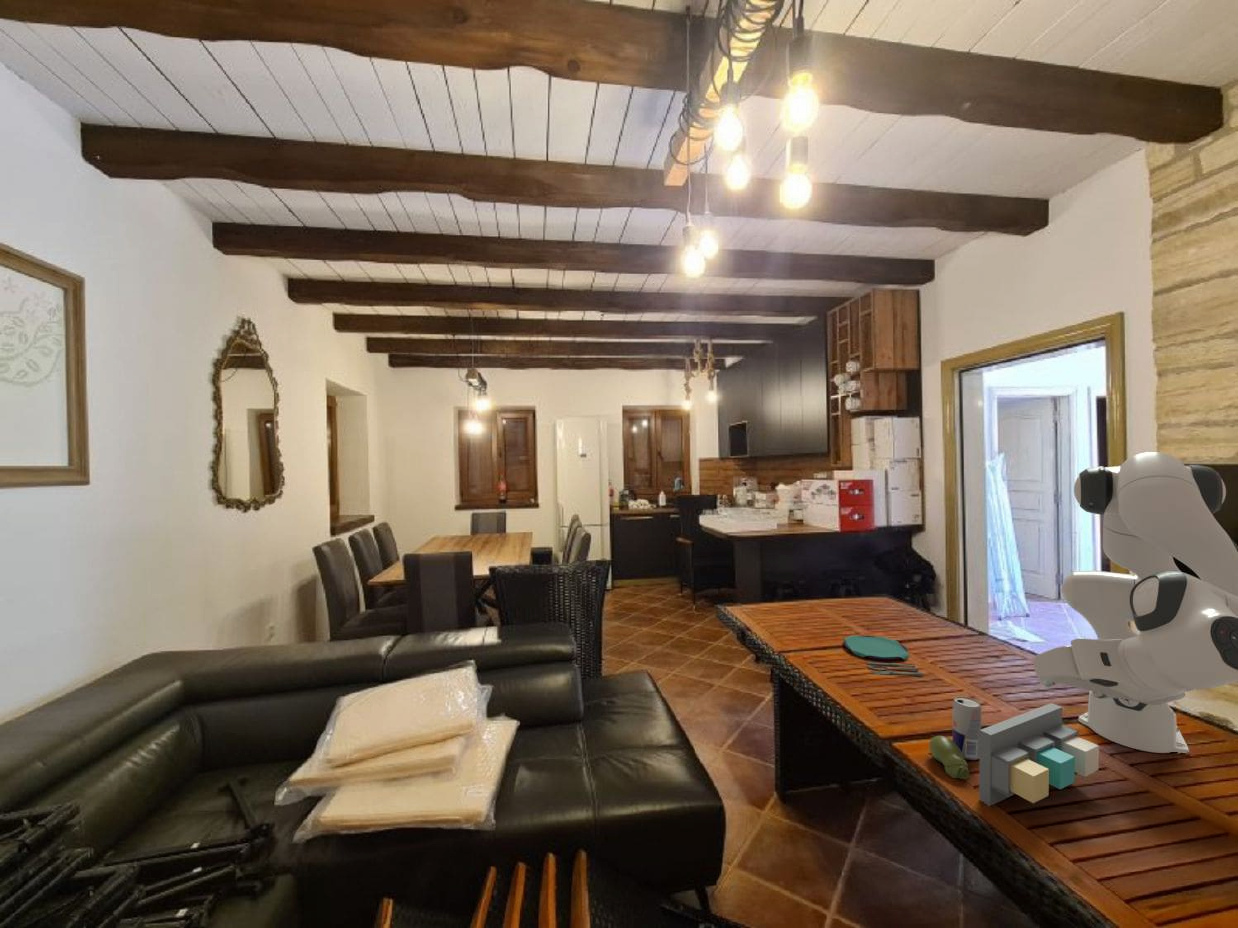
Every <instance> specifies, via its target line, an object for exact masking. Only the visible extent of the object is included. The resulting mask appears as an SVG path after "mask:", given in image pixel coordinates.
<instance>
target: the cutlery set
mask: <svg viewBox="0 0 1238 928" xmlns="http://www.w3.org/2000/svg"><path fill="white" fill-rule="evenodd" d="M843 640H844V641H843V645H844V647H846V648H847V649H848V650H849V651H851V652H852V653H853V655H855V656H859V657H860V658H865V657H866V658H870V659H871V658H872V659H875V660H876V659H877V660H896V659H903V660H904V661H906V660H908V659H909V657H910V656H909V655H910V654H909V649H908V648H907V647H906V646H905V645H903V644H902V643H900V642H899V641H897V640H896V639H890V638H887V637H884V636H874V635H855V634H853V635H849V636H846V637H844V638H843ZM904 661H903V662H904ZM865 665H868V666H867V667H868V668H869V669H871V671H870V672H871V673H872V674H873V675H885V676H890V675H897V676H909V677H911V676H914V677H917V676H918V677H923V676H924V675H923V672H919V668H918V667H915V665H914V664H901V663H896V662H893V663H892V662H889V663H887V662H871V661H870V662H869V661H868V662H865ZM888 666H890V667H888ZM899 666H901V667H899ZM878 668H882V669H878ZM892 670H896V671H892ZM898 670H900V671H901V670H904V671H914V672H898ZM915 671H916V672H915Z"/></svg>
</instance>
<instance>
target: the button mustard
mask: <svg viewBox="0 0 1238 928" xmlns="http://www.w3.org/2000/svg"><path fill="white" fill-rule="evenodd" d="M1049 788H1050V784H1049V769H1048V768H1046V767H1043V766H1041V765H1039V764H1037V763H1035V762H1033V761H1031V760H1029V759H1027V758H1023V759H1020V760H1018V761H1016V762H1014V763H1011V764H1010V791H1011V792H1013V793H1015V794H1014V795H1017V796H1019V797H1021V798H1023V799H1024V800H1026V801H1028V802H1030V803H1032V804H1035V803H1037V802H1039V801H1041V800H1043V799H1045V798H1047V797H1048V796H1050V795H1049V790H1050V789H1049Z"/></svg>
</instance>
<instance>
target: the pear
mask: <svg viewBox="0 0 1238 928" xmlns="http://www.w3.org/2000/svg"><path fill="white" fill-rule="evenodd" d="M929 751H930V753H931V756H932V757H933V758H934V759H935V760H937V761H938V762H939V763H942V764H943V766H944V770H945V774H947V775H948V776H951V777H952V778H951V777H950V778H951V779H957V778H960V779H959V780H969V776H970V771H969V770H970V769H968V767H969V765H968V763H967V760H966V759H964V758H963V755H962V752H961V750H960V749H959V747H958V746H957V745H956V744H955V743H954V742H953V739H950V738H949V737H948V736H944V735H936V736H934V737H932V738H931V739H930V741H929Z"/></svg>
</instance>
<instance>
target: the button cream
mask: <svg viewBox="0 0 1238 928" xmlns="http://www.w3.org/2000/svg"><path fill="white" fill-rule="evenodd" d="M1062 751H1063V752H1065V753H1067V754H1069V755H1072V756H1074V757H1075V774H1076V773H1077V774H1078V775H1081V776H1082V777H1088V776H1089V775H1091V774H1093V773H1095V772H1097V771H1099V762H1100V761H1099V759H1100V758H1099V756H1100V755H1099V754H1100V746H1099V744H1096V743H1094V742H1091V741H1090V740H1087V739H1084V738H1081V737H1080V736H1079V737H1077V736H1072V737H1070V738H1068V739H1066V740H1063V741H1062Z"/></svg>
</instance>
